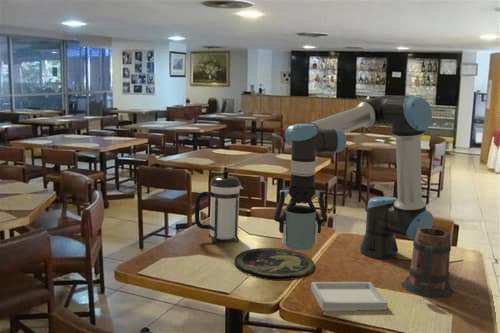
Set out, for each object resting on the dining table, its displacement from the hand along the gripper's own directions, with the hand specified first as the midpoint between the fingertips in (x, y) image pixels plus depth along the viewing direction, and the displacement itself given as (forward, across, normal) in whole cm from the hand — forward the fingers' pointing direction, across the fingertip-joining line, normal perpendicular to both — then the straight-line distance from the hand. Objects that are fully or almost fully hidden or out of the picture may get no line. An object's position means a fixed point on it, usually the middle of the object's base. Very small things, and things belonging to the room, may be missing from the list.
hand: (299, 242), depth 159 cm
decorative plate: (+18, +4, -26) cm, 31 cm away
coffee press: (+17, +24, -54) cm, 62 cm away
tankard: (+18, -44, -2) cm, 48 cm away
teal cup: (+1, 0, 0) cm, 1 cm away
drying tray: (+17, -15, +5) cm, 24 cm away
